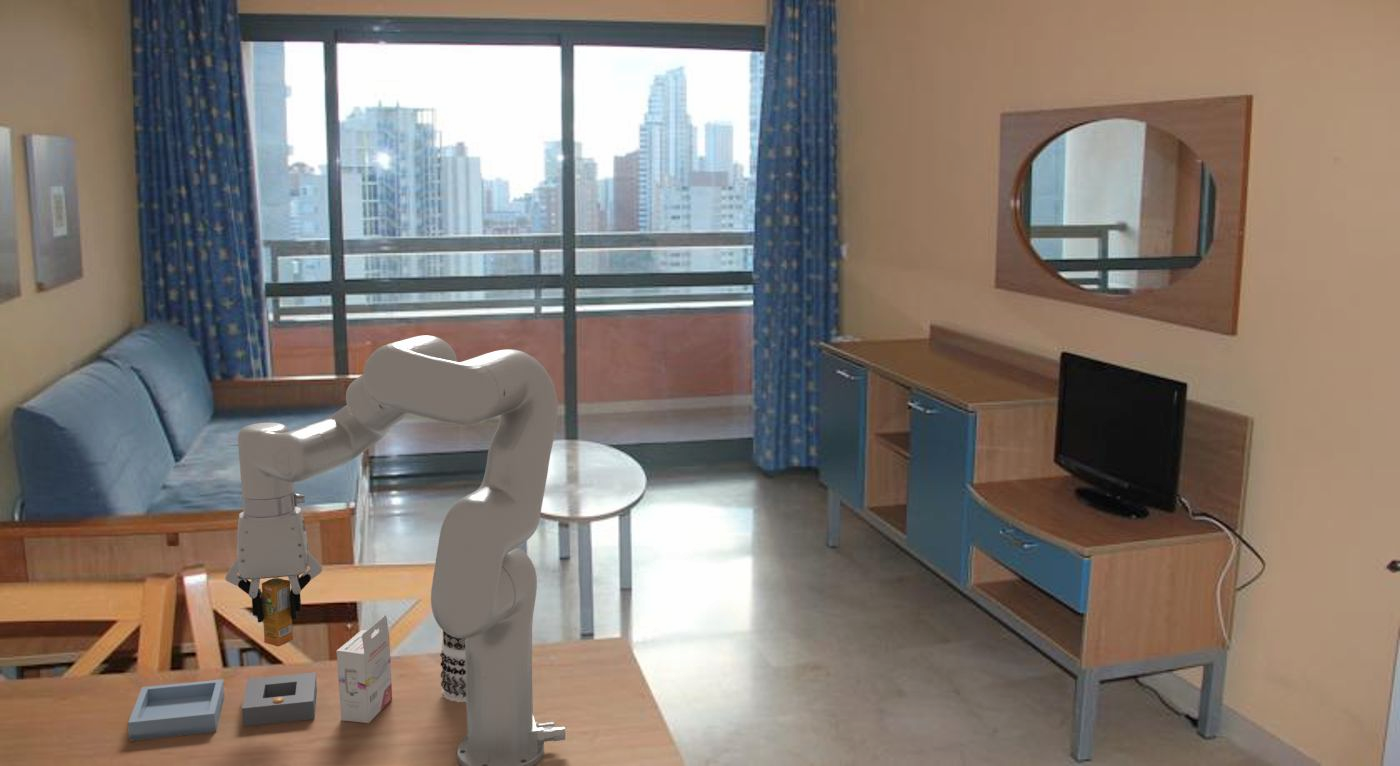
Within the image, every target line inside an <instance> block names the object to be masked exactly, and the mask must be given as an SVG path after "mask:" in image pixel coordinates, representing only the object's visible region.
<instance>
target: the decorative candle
mask: <svg viewBox="0 0 1400 766" xmlns="http://www.w3.org/2000/svg"><path fill="white" fill-rule="evenodd" d="M441 648H442V649H441V652H440V654H439V656H440V657H441V662H440V666H441V669H442V670H441V672H440V677H441V681H440V685H441V687H442V689H441V695H442V694H443V695H444V696H443V695H442V696H443V698H444V697H445V698H444V699H446V698H447V699H446V700H448V699H449V700H448V701H450V700H452V701H451V702H453V701H459V702H466V669H465V638H456V637H453V636H450V635H449V634H447V633H446V632H444V631H443V630H442V641H441ZM459 702H458V703H459Z"/></svg>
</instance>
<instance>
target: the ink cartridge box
mask: <svg viewBox="0 0 1400 766" xmlns="http://www.w3.org/2000/svg"><path fill="white" fill-rule="evenodd" d="M390 643H391V642H390V632H389V624H388V618H387V615H383V616H382V617H380V619H378V620H377V621H376V622H375V623H374V624H372V625H371V626H370V627H369V628H368V629H361V630H360V631H358V632H357V633H356V634H355V635H354V636H352V638H350V639H349V640H348V641H346V642H345V643H344V644H343V645H342V646H340V648H338V649H337V650H336V660H337V661H336V663H337V678H338V693H339V709H340V720H341V721H342V722H343V721H344V722H345V721H346V722H354V723H355V722H356V723H364V724H370V723H371V722H372V720H373V719H374V718H375V717H376V716H377V715H378V714H380V712H382V710H383V709H384V708H385V707H386V706H387V705H388V704H389V703H390V702H391V701H392V699H393V689H392V685H393V683H392V665H391V664H392V663H391V645H390Z"/></svg>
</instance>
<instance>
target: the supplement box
mask: <svg viewBox="0 0 1400 766" xmlns="http://www.w3.org/2000/svg"><path fill="white" fill-rule="evenodd" d="M290 591H291V584H290V581H289V579H283V578H281V577H276V578H269V579H268V580H266V581H264V582H261V592H262V601H263V621H262V622H263V639H264V640H263V641H264V643H265V644H268V645H270V646H271V645H272V646H275V647H279V648H280V647H282V646H283V645H286V644H287V643H289V642H291V641H293V640H294V635H293V618H291V608H290Z"/></svg>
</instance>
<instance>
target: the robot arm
mask: <svg viewBox="0 0 1400 766" xmlns="http://www.w3.org/2000/svg"><path fill="white" fill-rule="evenodd" d="M345 392H346V393H345V402H346V405H344V406H343V407H342V408H341V409H339V410H337V411H336V412H335V413H333V414H331V416H329V417H327V418H326V419H324V420H321V421H317V422H314V423H311V424H308V425H305V426H302V427H300V428H297V429H293V430H290V429H289V428H288V427H287V425H285V424H283V423H278V422H259V423H258V422H257V423H253V424H249V425H247V426H243V428H241V429H240V430H239V432H238V434H237V446H238V447H237V449H238V457H239V459H238V460H239V461H238V462H239V471H240V483H241V484H240V485H241V495H242V496H241V499H242V509H243V510H242V511H241V512H240V513H239V514H238V521H237V536H236V537H237V538H236V541H237V542H236V545H237V548H236V550H237V552H236V555H237V558H236V559H235V561H234V562H233V563H232V565H231V567H230V568H229V570H228V571H227V573H226V575H225V579H224V580H225V581H226V582H228V583H230V584H232V585H234V586H236V587H238V588H239V589H240V590H241V591H243V592H244V593H245V594H247V595H248V597H249V598H250V599H251V608H252V616H254V617H255V616H257V623H262V622H263V601H262V589H261V588H260V582H261V580H262V579H263V580H264V579H273V578H276V577H278V578H284V577H285V578H286V577H287V578H288V580H289V581H290V608H291V618H292V620H296V619H297V615H298V612H301V611H302V602H301V592H302V590H303V589H304V588H305V587H306V586H307V585H308V584H309V583H310V581H312V580H313V579H314V578H316V577H317V576H318V575H320V574H321V573H322V572H323V566H322V564H320V562H319V561H318V560H317V559H316V558H315V557H314V556H313V555H312V553H311V552H310V551H309V545H308V536H307V530H306V523H305V519H304V515H303V512H302V509H301V507H298V505H301V504H305V503H306V497H305V494H300V493H297V492H296V491H295V484H296V483H302V482H305V481H307V480H311V479H314V478H315V477H318V476H320V475H323V474H325V473H327V472H329V471H332V470H334V469H337V468H340V467H343V466H345V465H346V464H348V463H350V462H351V461H353V460H354V459H356V458H357V457H359V456H360V455H361V454H363V453H365V452H366V451H367V450H368V449H370V448H371V447H373V446H374V445H375V444H377V443H378V442H379V441H381V440H382V438H384V437H385V435H386V434H387V433H388V432H389V431H390V429H391V428H392V427H393V426H395V425H396V424H398V423H399V422H401V421H402V420H403V419H405V418H406V417H407V416H408V415H413V416H417V417H421V418H426V419H430V420H433V421H437V422H441V423H444V424H450V425H454V426H463V427H465V426H466V427H468V426H475V425H479V424H482V423H483V422H487V421H489V420H491V419H493V418H496V417H499V421H498V425H497V427H496V430H495V431H494V434H493V436H492V438H491V441H490V444H489V447H488V452H487V459H486V465H485V471H484V476H483V479H482V481H481V484H480V486H479V487H478V488H477V489H476V490H475V491H473V492H471V493H469V494H468V495H465V496H463V498H461V499H460V500H458V501H457V502H455V503H454V504H453V506H451V508H450V509H449V510H448V512H447V514H446V515H445V517H444V519H443V522H442V525H441V528H440V532H439V537H438V538H439V539H438V545H437V550H436V557H435V563H434V569H433V576H432V581H431V590H430V606H431V607H430V608H431V610H432V611H431V612H432V614H433V617H434V619H435V621H436V623H437V625H438V627H439V628H440V629H441V630H442V632H443V631H444V632H446V633H447V634H449V635H450V636H453V637H456V638H465V669H466V737H465V738H463V740H462V741H461V742H460V743H459V744H458V746H457V749H456V758H457V759H456V760H457V761H458V764H459V765H461V766H534V765H536V764H538V762H540V761H541V759H543V756H544V753H545V742H559V741H566V729H565V726H556V727H555V722H554V721H547V722H543V723H542V722H541V723H539V722H538V721H535V717H534V715H533V709H534V708H533V704H534V703H533V660H532V659H533V657H532V656H533V622H534V611H535V604H536V598H537V589H538V578H537V571H536V568H535V565H534V563H533V561H532V559H531V558H530V557H529V556H528V554H527V553H526V552H525V551H523V550H522V549H520V548H518V547H520V546H521V545H522V544H524V543H526V541H528V540H529V539H531V537H532V536H533V535H534V534H535V533H536V531H537V529H538V526H539V523H540V519H541V513H542V506H543V500H544V496H545V491H546V485H547V479H548V472H549V465H550V458H551V454H552V449H553V446H554V445H553V444H554V439H555V435H556V429H557V423H558V414H559V411H558V410H559V405H558V401H559V400H558V395H557V391H556V388H555V385H554V382H553V380H552V378H551V377H550V375H549V373H548V371H547V370H546V369H545V367H544V366H543V365H542V364H541V362H539V360H538V359H536V358H535V357H534V356H532V355H530V354H528V353H526V352H524V351H521V350H518V349H509V348H508V349H499V350H494V351H491V352H487V353H484V354H481V355H480V354H479V355H478V356H475V357H472V358H469V359H466V360H463V361H460V362H459V361H458V360H457V356H456V352H455V351H454V349H453V347H452V346H451V345H450V344H449V343H448V342H447V341H445V340H444V339H442V338H441V337H438V336H434V335H426V334H425V335H416V336H412V337H408V338H406V339H402V340H397V341H394V342H390V343H387V344H385V345H382V346H380V347H378V348H376V350H375V351H373V352H372V353H371V354H370V355H369V357H368V358H367V359H366V362H365V365H364V368H363V373H362V374H361V375H360V376H358V377H357V378H355V379H354V380H352V381H351V382H350V383H349V385H348V387H347V389H346V391H345ZM308 567H309V569H308Z"/></svg>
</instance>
